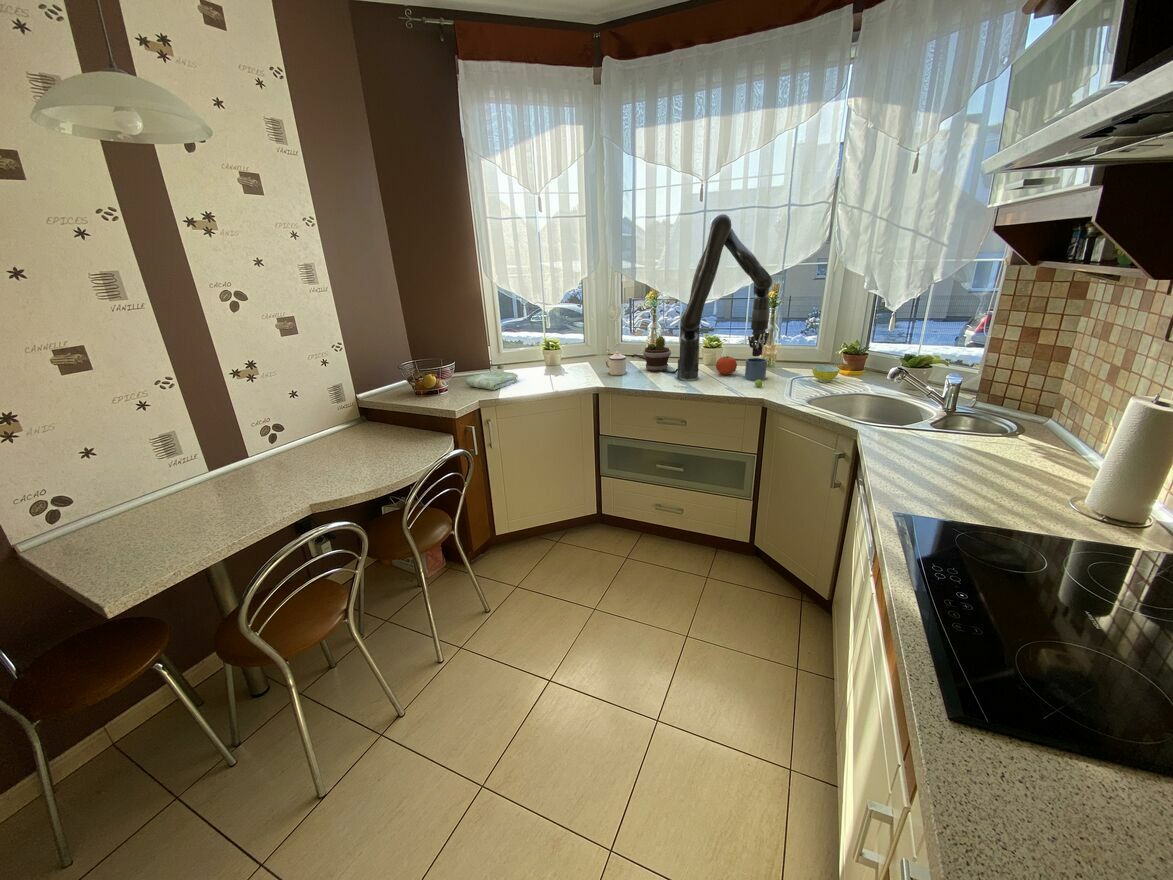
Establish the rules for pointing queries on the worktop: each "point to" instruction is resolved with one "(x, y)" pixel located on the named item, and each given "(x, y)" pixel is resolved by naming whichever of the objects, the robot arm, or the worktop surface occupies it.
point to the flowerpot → (657, 355)
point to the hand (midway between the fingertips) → (757, 355)
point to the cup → (755, 369)
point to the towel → (492, 380)
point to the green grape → (758, 383)
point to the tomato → (726, 365)
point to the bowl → (825, 372)
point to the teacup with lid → (617, 364)
